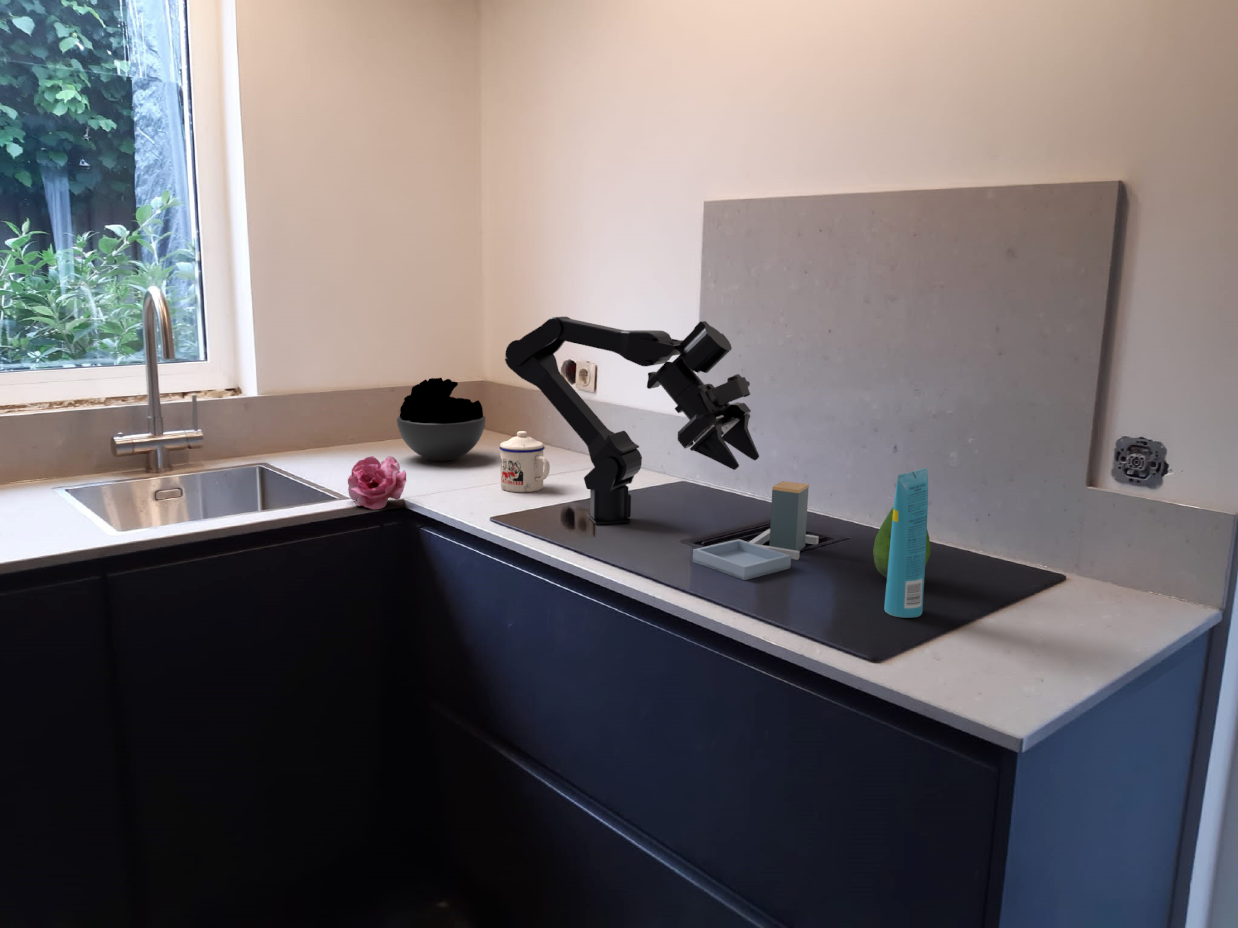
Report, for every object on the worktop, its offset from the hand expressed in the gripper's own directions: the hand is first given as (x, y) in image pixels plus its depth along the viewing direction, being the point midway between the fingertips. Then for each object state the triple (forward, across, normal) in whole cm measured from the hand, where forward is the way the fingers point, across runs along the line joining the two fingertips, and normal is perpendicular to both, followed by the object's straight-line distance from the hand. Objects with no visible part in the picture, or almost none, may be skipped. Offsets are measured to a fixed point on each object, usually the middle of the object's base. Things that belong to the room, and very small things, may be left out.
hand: (747, 463), depth 157 cm
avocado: (+29, -8, -10) cm, 31 cm away
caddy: (+15, 0, +4) cm, 15 cm away
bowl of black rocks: (-50, +26, +69) cm, 90 cm away
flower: (-39, -13, +58) cm, 71 cm away
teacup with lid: (-27, +12, +46) cm, 55 cm away
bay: (+15, 0, +4) cm, 15 cm away
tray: (+12, -13, +6) cm, 19 cm away
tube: (+31, -21, -12) cm, 39 cm away
